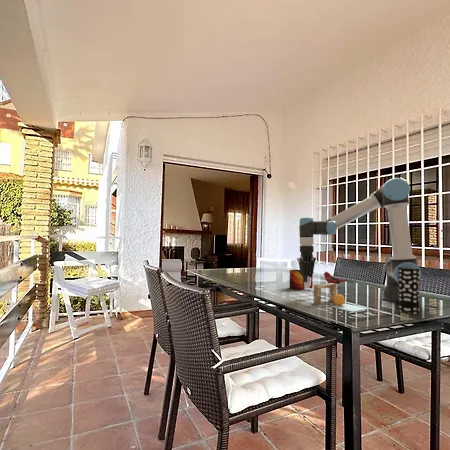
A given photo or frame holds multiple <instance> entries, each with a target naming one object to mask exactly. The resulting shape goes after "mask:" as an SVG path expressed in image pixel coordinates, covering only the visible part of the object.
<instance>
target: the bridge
mask: <svg viewBox="0 0 450 450" xmlns="http://www.w3.org/2000/svg"><path fill="white" fill-rule="evenodd" d="M337 287H338V284H334V283H328V282H327V283H322V284H321V283H319V284H313V304H315V305H321V303H322V288H323V289H324V288H329V291H328V292H329V293H328V295H329V300H328V301H330V302H333V303H334V301H333V298H334V296H335V295H337V294H338V291H337Z"/></svg>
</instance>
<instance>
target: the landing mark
mask: <svg viewBox="0 0 450 450" xmlns="http://www.w3.org/2000/svg"><path fill="white" fill-rule="evenodd" d="M331 307H332V308H335V309H339V310H342V311H347V312H352V313H356V312H360V311H366V310H368V308H367V307H362V306H357V305H354V304H349V303H344V304H343V305H341V306H339V305H336V304H334V305H331V306H330V308H331Z"/></svg>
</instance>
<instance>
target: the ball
mask: <svg viewBox="0 0 450 450" xmlns="http://www.w3.org/2000/svg"><path fill="white" fill-rule="evenodd" d="M333 301H334V302H333ZM333 301H332V302H333V304H334V305H339V306H341V305H343V304H346V299H345V297H344V295H342V294H340V293H339V294H338V293H337V295H335V296H334V298H333Z"/></svg>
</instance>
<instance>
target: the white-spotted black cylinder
mask: <svg viewBox="0 0 450 450" xmlns="http://www.w3.org/2000/svg"><path fill="white" fill-rule="evenodd" d="M397 304H398V308H397V309H398V311H399V312H401V313H404V314H414V315H416V314H420V280H419V269H418V268H408V267H399V268H398V302H397Z"/></svg>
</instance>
